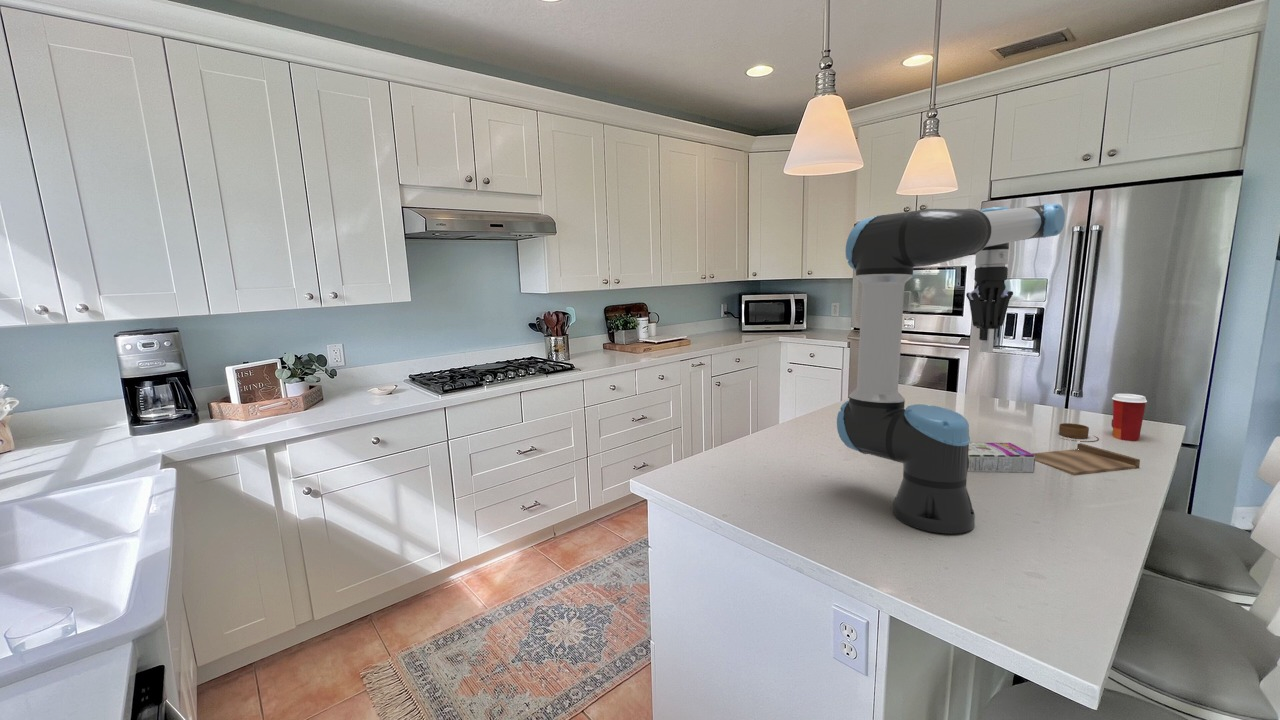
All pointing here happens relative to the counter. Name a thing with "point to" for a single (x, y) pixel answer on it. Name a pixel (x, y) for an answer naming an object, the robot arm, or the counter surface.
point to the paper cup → (1128, 416)
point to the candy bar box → (999, 458)
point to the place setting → (1075, 431)
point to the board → (1086, 460)
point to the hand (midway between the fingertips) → (986, 351)
